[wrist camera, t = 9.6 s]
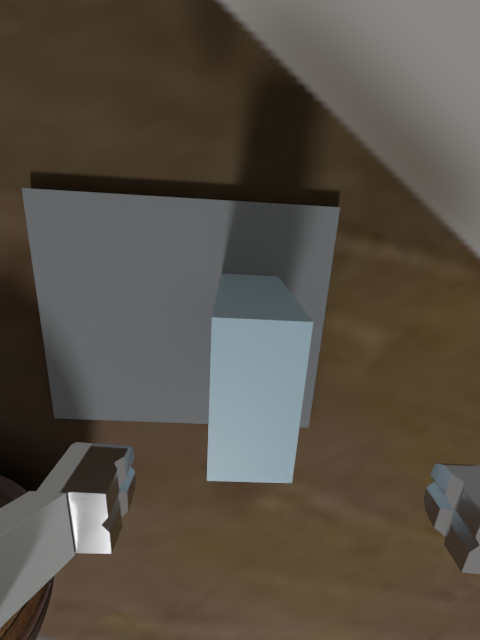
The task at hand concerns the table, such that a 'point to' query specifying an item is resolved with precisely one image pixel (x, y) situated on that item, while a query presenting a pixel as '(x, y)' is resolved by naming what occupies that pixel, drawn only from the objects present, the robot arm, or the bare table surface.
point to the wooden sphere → (27, 621)
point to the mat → (159, 293)
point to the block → (256, 379)
